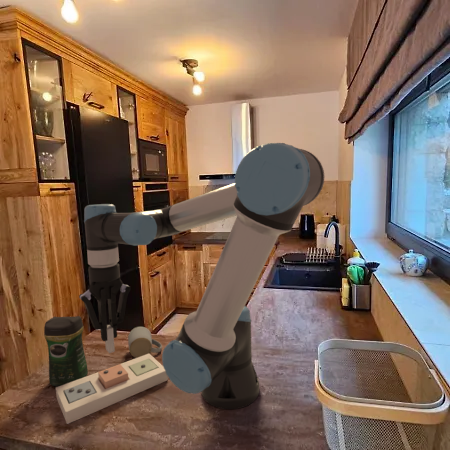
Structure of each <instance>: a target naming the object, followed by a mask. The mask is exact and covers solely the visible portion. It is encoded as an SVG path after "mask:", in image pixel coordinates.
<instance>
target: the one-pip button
mask: <svg viewBox="0 0 450 450" xmlns="http://www.w3.org/2000/svg"><path fill="white" fill-rule="evenodd" d="M129 368H130V369H131V371H132V372H133V373H134V374H135V375H136V376H139V375H142V374H144V373H147V372H149V371H152V370H154V369H157V368H158V367H157V366H156V365H155V364H154V363H153V362H152V361H151V360H150V359H146V360H144V361H141V362H138V363H136V364H133V365H130V366H129Z"/></svg>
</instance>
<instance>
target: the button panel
mask: <svg viewBox="0 0 450 450" xmlns="http://www.w3.org/2000/svg"><path fill="white" fill-rule="evenodd" d="M146 359H150V360H151V361H152V362H153V363H154V364H155V365H156V366H157V367H158V368H157V369H154V370H152V371H149V372H147V373H144V374H142V375H139V376H136V375H135V374H134V373H133V372H132V371H131V369H130V368H129V366H130V365H133V364H136V363H138V362H141V361H144V360H146ZM120 364H121V366H122V367H123V368H124V369H125V370H126V371H127V373H128V380H127V381H124V382H122V383H119V384H117V385H114V386H112V387H110V388H107V389H104V387H103V386H102V384H101V383H100V381H99V376H98V372H99V371H98V372H95V373H92V374H89V375H87V376H86V377H83V378H81V379H78V380H75V381H73V382H70V383H67V384H64V385H62V386H55V393H56V394H55V395H56V401H57V403H58V405H59V408H60V411H61V412H62V415H63V418H64V420H65V424H66V425H67V424H68V425H69V424H71V423H73V422H75V421H77V420H79V419H82V418H85V417H86V416H89V415H91V414H94V413H95V412H98V411H100V410H102V409H105V408H107V407H109V406H112V405H114V404H116V403H117V404H118V403H119V402H121V401H123V400H126V399H128V398H130V397H132V396H134V395H137V394H139V393H141V392H144V391H146V390H148V389H150V388H153V387H155V386H158V385H160V384H163V383H164V382H166V381H168V380H169V377H168V376H167V374H166V371H165V369H164V367H163V364H161V363H160V362H159V361H158V360H157V359H156V358H155V357H154V356H153V355H151V353H149V354H146V355H143V356H141V357H138V358H135V357H134V358H133V359H130V360H128V361H125V362H122V363H120ZM88 381H89V382H90V384H91V385H92V387H93V388H94V390H95V392H96V393H95V394H92V395H90V396H87V397H85V398H82V399H80V400H77V401H75V402H72V403H70V404H69V403H68V401H67V399H66V397H65V391H64V390H67V389H69V388H72V387H75V386H77V385H80V384H83V383H85V382H88Z"/></svg>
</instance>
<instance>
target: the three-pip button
mask: <svg viewBox="0 0 450 450" xmlns="http://www.w3.org/2000/svg"><path fill="white" fill-rule="evenodd" d="M64 391H65V397H66V399H67V401H68V403H69V404H70V403H72V402H75V401H77V400H80V399H82V398H85V397H87V396H90V395H92V394H95V393H96V392H95V390H94V388H93V387H92V385H91V384H90V382H89V381H88V382H85V383H83V384H80V385H77V386H75V387H72V388H69V389H67V390H64Z"/></svg>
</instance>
